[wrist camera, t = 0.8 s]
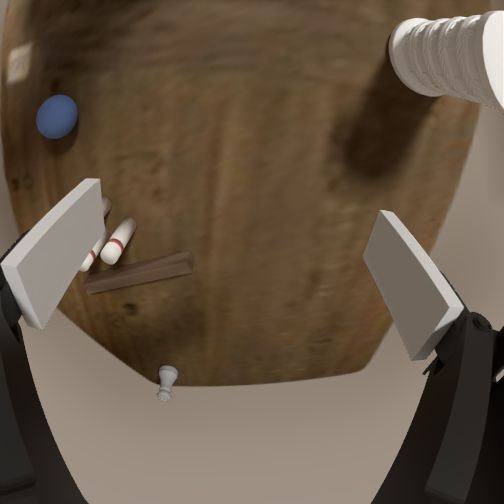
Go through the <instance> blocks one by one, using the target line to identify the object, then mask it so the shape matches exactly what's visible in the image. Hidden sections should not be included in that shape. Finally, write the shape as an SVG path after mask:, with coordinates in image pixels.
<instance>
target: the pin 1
mask: <svg viewBox="0 0 504 504" xmlns="http://www.w3.org/2000/svg"><path fill="white" fill-rule="evenodd" d="M109 237H110V231H109V229H108V228H107V227H105V232H104V233H103V234H102V236H101V237H100V239H99V240H98V242H97V243H96V245H95V246H94V247H93V249H92V250H91V252H90V253H89V255H88V256H87V258H86V259H85V261H84V262H83V264H82V265H81V267H80V269H79V270H80V271H87V270H88V268H89V267H90V265H91V264H92V263H93V261H94V260H95V258H96V256H97V255H98V253H99V252H100V250H101V249H102V247H103V246H104V244H105V243H106V241H107V240H108V238H109Z"/></svg>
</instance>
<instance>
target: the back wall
mask: <svg viewBox="0 0 504 504" xmlns="http://www.w3.org/2000/svg"><path fill="white" fill-rule="evenodd" d="M193 264H194V259H193V256H192V254H191V252H190V250H189V251H185V252H180V253H176V254H172V255H168V256H163V257H159V258H155V259H151V260H147V261H142V262H138V263H134V264H130V265H126V266H122V267H118V268H113V269H109V270H105V271H101V272H97V273H93V274H89V275H88V277H87V279H86V280H85V282H84V283H83V287H84V288H85V290H86V292H87V293H88V294H91V293H96V292H101V291H106V290H111V289H115V288H120V287H125V286H130V285H135V284H140V283H145V282H149V281H154V280H159V279H164V278H169V277H173V276H178V275H183V274H188V273H192V269H193Z"/></svg>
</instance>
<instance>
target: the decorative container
mask: <svg viewBox="0 0 504 504" xmlns="http://www.w3.org/2000/svg"><path fill="white" fill-rule="evenodd" d="M389 56H390V61H391V64H392V66H393V68H394V71H395V73H396V74H397V76H398V77H399V78H400V80H401V81H402V82H403V83H404V84H405V85H406V86H407V87H408V88H409V89H411V90H413V91H415V92H416V93H418V94H422V95H426V96H430V97H434V96H441V95H444V94H445V95H447V94H449V95H451V96H454V97H456V98H457V97H459V98H466V99H467V100H471V101H472V102H474V101H475V102H476V103H478V102H480V103H484V104H486V105H487V106H490V107H494V108H497V109H498V110H499V111H500V112H501V113H502V114H504V11H490V12H486V13H485V14H483V15H473V16H470V17H468V18H467V17H454V18H451V19H444V18H443V19H438V20H436V21H429V20H426V19H421V18H414V19H409V20H405V21H403V22H401V23H400V24H398V25H397V26H396V27H395V28H394V30H393V31H392V33H391V36H390V39H389Z"/></svg>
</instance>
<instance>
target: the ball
mask: <svg viewBox="0 0 504 504" xmlns="http://www.w3.org/2000/svg"><path fill="white" fill-rule="evenodd" d="M77 117H78V110H77V106H76V104H75V102H74V101H73V100H72V99H71V98H70V97H68V96H65V95H55V96H52V97H50V98H48V99H47V100H46V101H45V102H44V103H43V104H42V105H41V106H40V108H39V110H38V113H37V117H36V124H37V128H38V130H39V131H40V133H41V134H42V135H43V136H45V137H47V138H50V139H58V138H61V137H63V136H65V135H67V134H68V133H69V132H70V131H71V130H72V129H73V127H74V126H75V124H76V121H77Z"/></svg>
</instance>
